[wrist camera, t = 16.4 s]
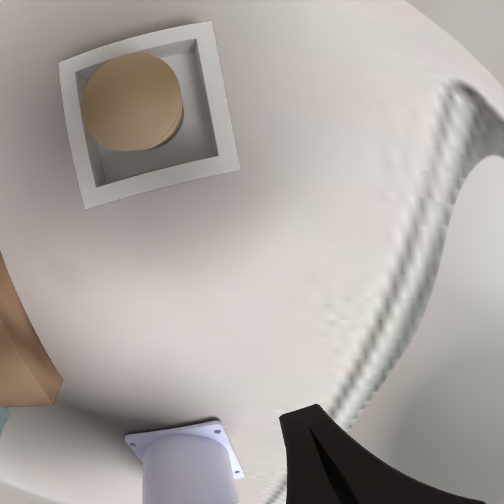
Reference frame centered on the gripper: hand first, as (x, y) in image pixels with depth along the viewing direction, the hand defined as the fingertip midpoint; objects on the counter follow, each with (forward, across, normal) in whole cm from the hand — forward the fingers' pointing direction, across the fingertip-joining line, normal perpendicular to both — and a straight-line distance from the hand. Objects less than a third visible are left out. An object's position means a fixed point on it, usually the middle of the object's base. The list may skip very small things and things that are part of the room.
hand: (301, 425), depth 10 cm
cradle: (+9, +3, -12) cm, 15 cm away
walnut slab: (+10, +18, -2) cm, 21 cm away
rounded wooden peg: (+9, +3, -12) cm, 15 cm away
